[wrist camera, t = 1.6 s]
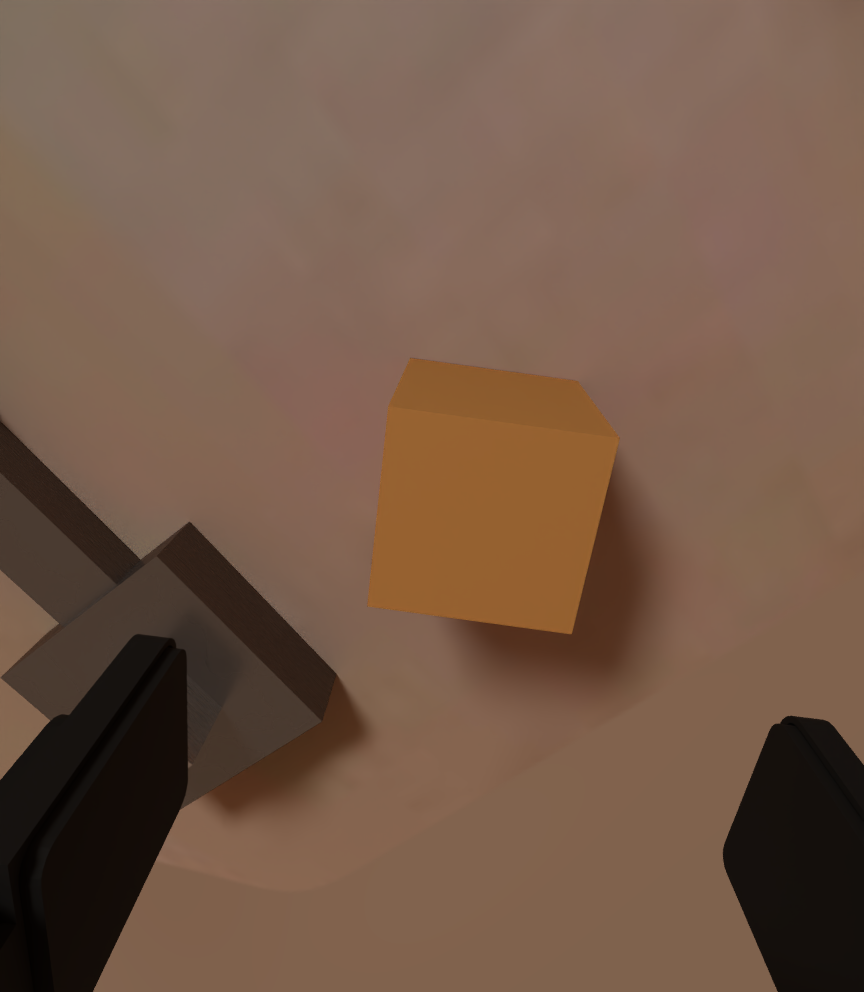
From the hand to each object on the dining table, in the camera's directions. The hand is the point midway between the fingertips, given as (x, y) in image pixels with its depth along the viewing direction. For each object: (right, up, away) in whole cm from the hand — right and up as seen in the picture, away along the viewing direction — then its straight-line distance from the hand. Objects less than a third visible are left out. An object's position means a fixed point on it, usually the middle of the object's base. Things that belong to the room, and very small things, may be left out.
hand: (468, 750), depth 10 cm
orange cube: (+1, +6, +14) cm, 15 cm away
